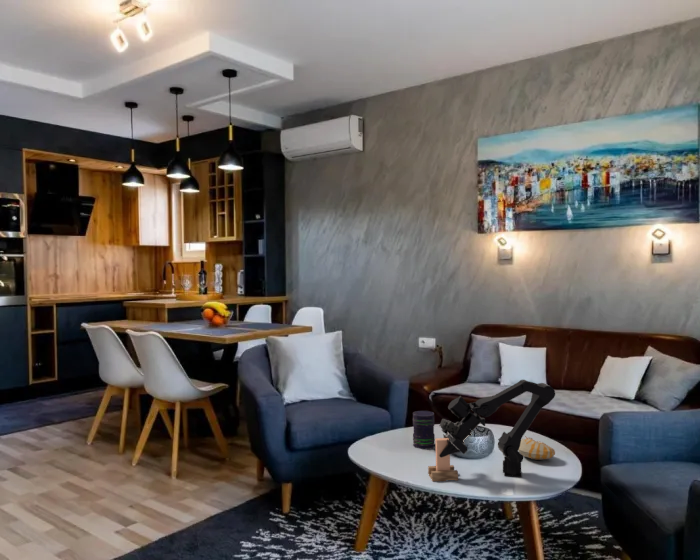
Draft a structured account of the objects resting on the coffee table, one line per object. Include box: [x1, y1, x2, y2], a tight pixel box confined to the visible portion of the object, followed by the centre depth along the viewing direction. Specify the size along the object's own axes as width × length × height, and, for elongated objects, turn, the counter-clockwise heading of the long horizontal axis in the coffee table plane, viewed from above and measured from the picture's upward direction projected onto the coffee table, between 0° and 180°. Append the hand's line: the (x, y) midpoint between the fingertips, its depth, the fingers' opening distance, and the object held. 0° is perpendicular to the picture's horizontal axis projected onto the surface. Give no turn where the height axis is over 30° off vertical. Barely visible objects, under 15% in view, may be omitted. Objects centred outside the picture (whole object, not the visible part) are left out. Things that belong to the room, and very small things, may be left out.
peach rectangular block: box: [434, 437, 451, 471], centre depth 221 cm, size 5×2×13 cm, turn 94°
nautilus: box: [518, 435, 556, 461], centre depth 244 cm, size 8×22×15 cm
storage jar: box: [412, 410, 436, 450], centre depth 260 cm, size 10×10×15 cm
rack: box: [427, 464, 459, 482], centre depth 221 cm, size 10×8×3 cm
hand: (439, 455), depth 221 cm, fingers closed on peach rectangular block, 2 cm apart
